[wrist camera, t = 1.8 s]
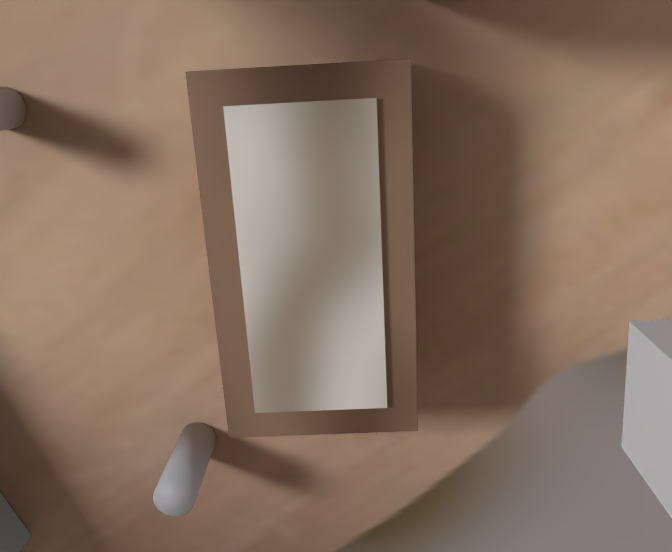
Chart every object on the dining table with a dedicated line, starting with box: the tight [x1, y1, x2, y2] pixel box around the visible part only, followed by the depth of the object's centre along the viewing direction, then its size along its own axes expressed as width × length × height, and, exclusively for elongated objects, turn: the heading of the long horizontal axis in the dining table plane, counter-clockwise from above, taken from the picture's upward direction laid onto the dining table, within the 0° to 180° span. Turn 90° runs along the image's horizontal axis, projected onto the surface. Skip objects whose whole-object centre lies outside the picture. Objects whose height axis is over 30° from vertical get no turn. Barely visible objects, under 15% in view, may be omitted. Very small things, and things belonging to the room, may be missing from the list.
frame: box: [186, 59, 418, 438], centre depth 24 cm, size 7×13×5 cm, turn 3°
